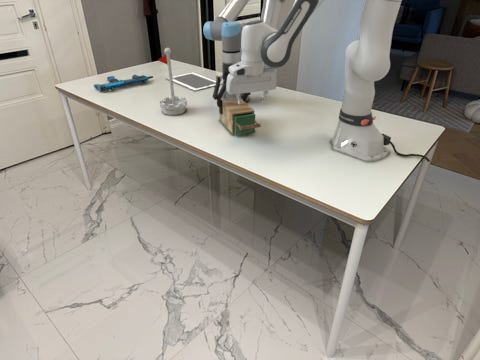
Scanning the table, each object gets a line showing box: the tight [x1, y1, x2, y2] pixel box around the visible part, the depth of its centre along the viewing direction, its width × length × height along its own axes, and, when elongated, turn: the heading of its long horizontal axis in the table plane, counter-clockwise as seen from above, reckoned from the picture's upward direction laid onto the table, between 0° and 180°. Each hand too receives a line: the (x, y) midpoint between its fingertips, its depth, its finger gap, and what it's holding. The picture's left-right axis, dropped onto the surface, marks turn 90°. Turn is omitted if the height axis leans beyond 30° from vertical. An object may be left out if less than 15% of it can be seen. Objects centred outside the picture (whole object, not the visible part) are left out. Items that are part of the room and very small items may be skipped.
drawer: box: [234, 113, 262, 136], centre depth 147 cm, size 22×9×8 cm, turn 21°
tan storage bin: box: [219, 98, 255, 136], centre depth 152 cm, size 17×10×10 cm, turn 21°
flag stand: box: [157, 47, 188, 116], centre depth 161 cm, size 13×13×30 cm
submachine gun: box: [93, 74, 154, 92], centre depth 206 cm, size 34×4×25 cm
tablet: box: [166, 71, 223, 92], centre depth 210 cm, size 32×20×1 cm, turn 41°
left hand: (232, 111), depth 156 cm, fingers closed on tan storage bin, 10 cm apart
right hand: (251, 102), depth 136 cm, fingers open, 8 cm apart
